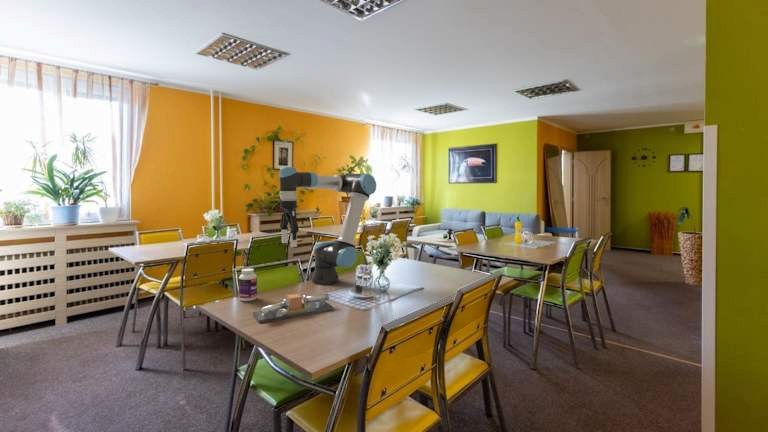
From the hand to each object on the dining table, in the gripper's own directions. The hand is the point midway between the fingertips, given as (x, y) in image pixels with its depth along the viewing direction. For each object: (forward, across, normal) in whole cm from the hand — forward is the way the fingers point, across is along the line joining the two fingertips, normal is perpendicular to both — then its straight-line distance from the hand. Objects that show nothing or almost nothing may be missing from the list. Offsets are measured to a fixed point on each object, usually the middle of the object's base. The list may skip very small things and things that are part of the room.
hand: (289, 244), depth 175 cm
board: (+26, +20, -5) cm, 33 cm away
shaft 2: (+25, +20, +5) cm, 32 cm away
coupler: (+25, +20, -5) cm, 32 cm away
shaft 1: (+25, +23, -14) cm, 37 cm away
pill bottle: (+26, -10, -17) cm, 33 cm away
